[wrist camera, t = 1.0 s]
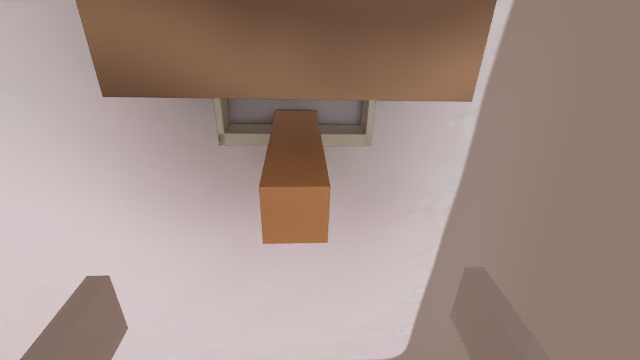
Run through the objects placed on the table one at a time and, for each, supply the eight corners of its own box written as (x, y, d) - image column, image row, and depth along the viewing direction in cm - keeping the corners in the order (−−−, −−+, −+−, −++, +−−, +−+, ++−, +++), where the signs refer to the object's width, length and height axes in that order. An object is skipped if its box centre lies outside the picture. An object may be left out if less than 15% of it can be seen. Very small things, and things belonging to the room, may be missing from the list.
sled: (193, -150, 20) (37, -385, 8) (391, -137, 21) (519, -333, 9) (226, 147, 29) (177, 245, 17) (364, 148, 30) (407, 241, 18)
